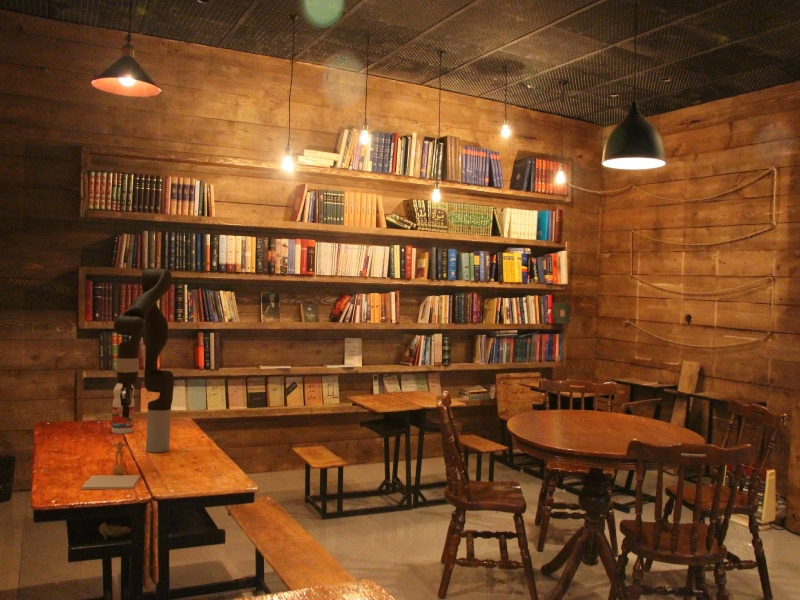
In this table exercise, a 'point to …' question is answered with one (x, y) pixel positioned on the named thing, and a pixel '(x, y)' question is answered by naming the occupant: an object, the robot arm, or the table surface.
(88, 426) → the table surface
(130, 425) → the fruit juice
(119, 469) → the figurine
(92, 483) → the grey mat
